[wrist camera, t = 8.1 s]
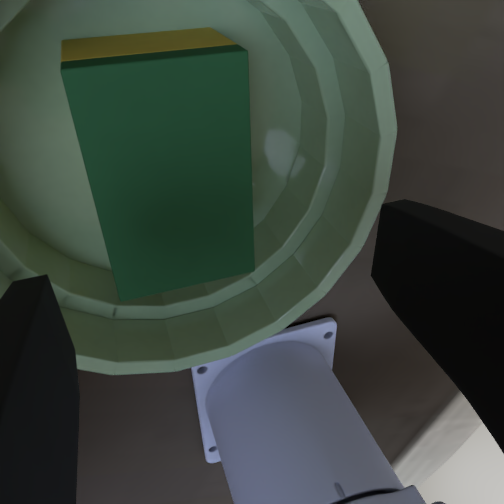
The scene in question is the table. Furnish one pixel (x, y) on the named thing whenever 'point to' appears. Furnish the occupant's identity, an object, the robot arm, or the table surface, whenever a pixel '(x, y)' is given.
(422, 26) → the table surface
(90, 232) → the bowl
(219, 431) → the robot arm
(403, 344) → the table surface
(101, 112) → the sponge
